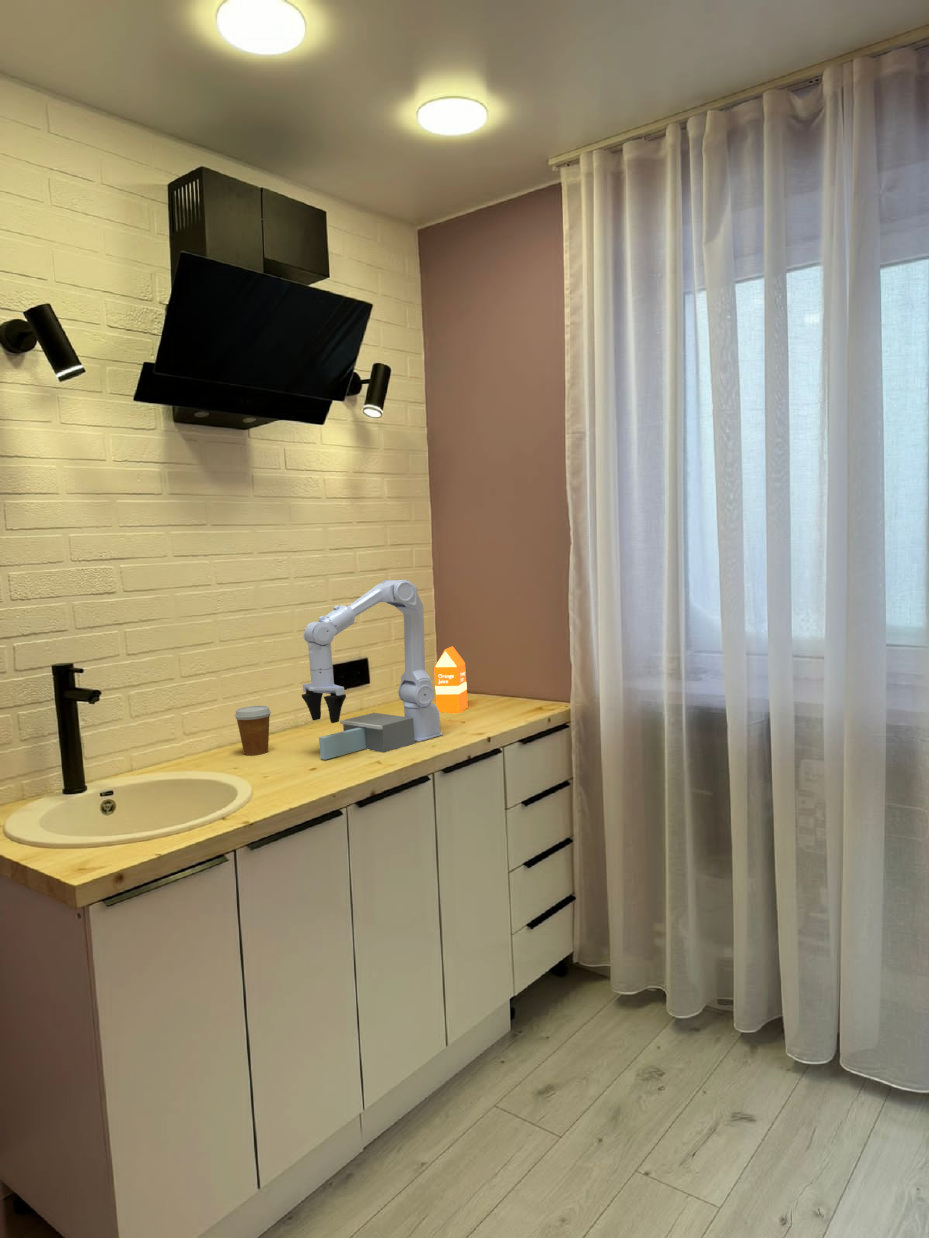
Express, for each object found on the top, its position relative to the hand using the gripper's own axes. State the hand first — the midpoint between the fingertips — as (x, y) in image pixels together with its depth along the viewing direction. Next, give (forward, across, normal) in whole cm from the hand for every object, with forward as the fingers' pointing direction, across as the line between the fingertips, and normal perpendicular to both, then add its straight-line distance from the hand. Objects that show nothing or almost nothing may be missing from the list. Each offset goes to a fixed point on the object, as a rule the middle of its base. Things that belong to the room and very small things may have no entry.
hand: (325, 721), depth 224 cm
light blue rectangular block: (+9, +2, +4) cm, 10 cm away
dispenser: (+9, +2, +16) cm, 18 cm away
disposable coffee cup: (+10, -22, -7) cm, 25 cm away
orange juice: (+10, -12, +60) cm, 62 cm away
